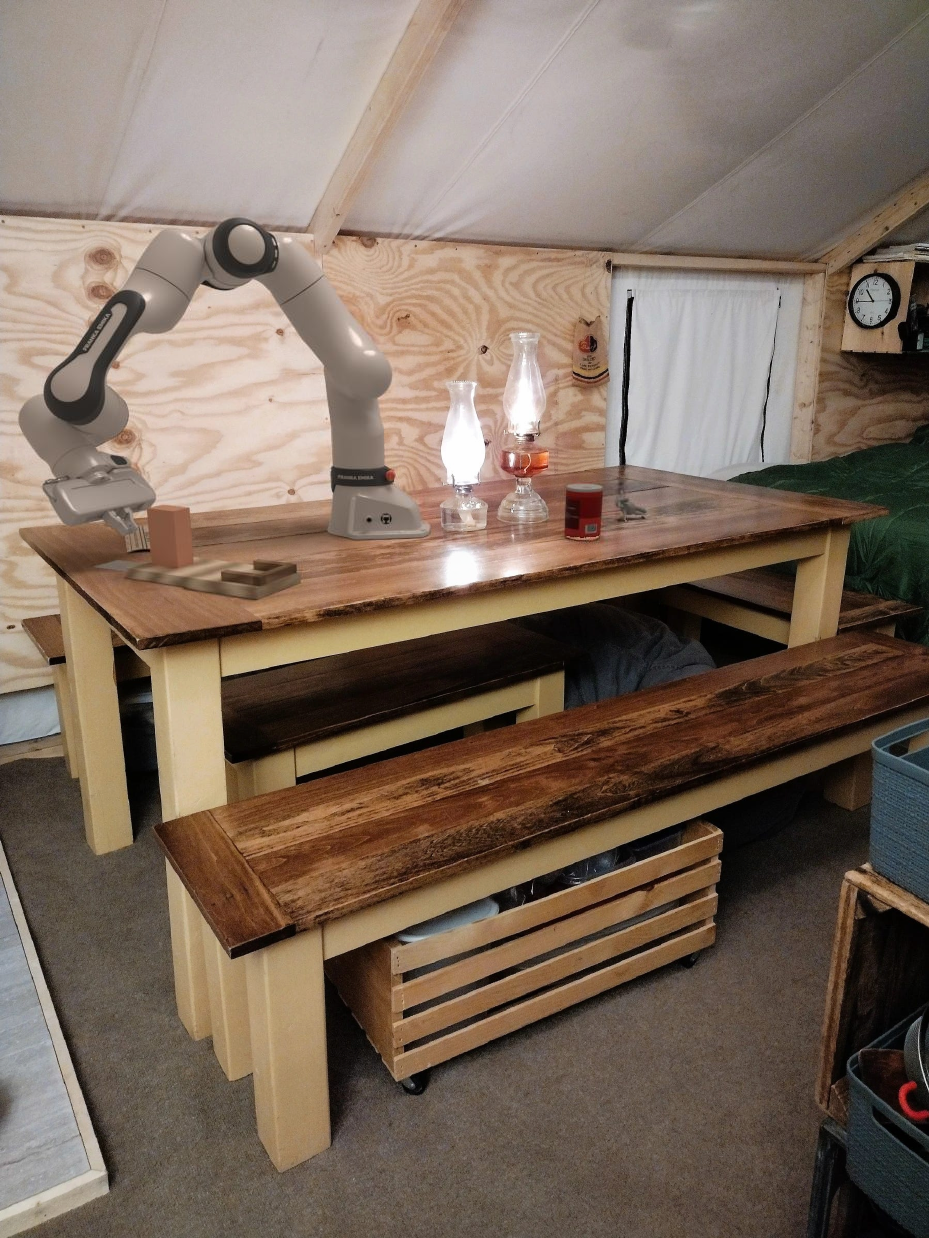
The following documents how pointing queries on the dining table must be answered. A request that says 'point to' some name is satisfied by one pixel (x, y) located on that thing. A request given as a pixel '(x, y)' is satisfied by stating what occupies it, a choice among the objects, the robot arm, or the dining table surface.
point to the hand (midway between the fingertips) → (131, 532)
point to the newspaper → (138, 539)
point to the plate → (117, 565)
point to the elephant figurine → (628, 506)
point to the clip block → (170, 536)
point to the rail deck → (223, 576)
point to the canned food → (583, 510)
